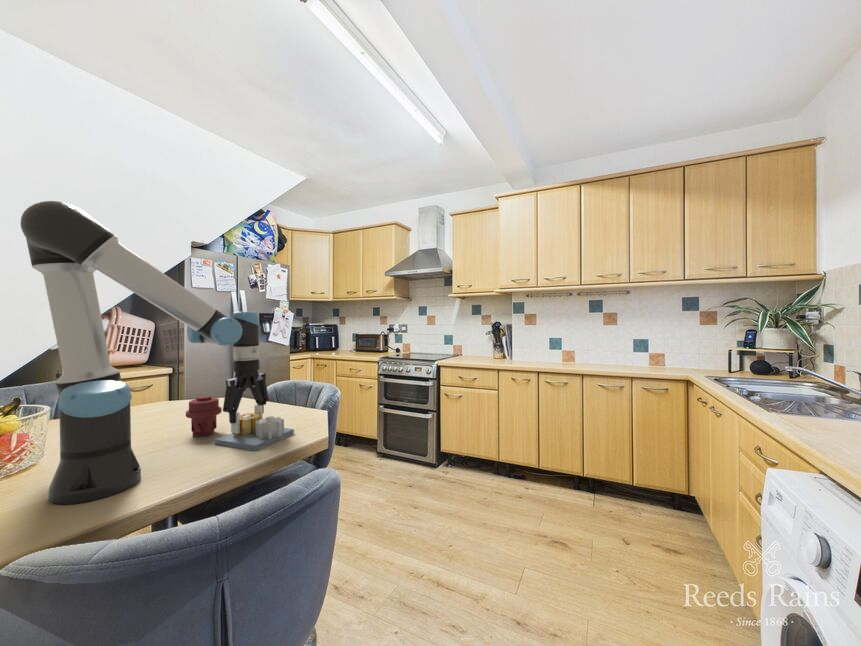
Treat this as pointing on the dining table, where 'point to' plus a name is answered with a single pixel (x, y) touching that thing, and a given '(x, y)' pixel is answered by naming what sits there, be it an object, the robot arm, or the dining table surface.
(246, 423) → the brass gear
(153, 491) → the dining table surface
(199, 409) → the mechanical component
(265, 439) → the gear board
